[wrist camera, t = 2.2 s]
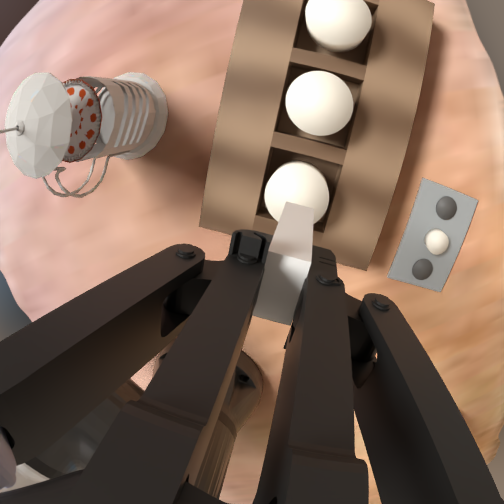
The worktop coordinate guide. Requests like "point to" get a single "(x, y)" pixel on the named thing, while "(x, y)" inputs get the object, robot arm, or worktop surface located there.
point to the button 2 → (319, 103)
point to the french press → (82, 122)
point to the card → (432, 236)
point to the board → (313, 146)
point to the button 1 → (297, 189)
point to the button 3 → (338, 23)
